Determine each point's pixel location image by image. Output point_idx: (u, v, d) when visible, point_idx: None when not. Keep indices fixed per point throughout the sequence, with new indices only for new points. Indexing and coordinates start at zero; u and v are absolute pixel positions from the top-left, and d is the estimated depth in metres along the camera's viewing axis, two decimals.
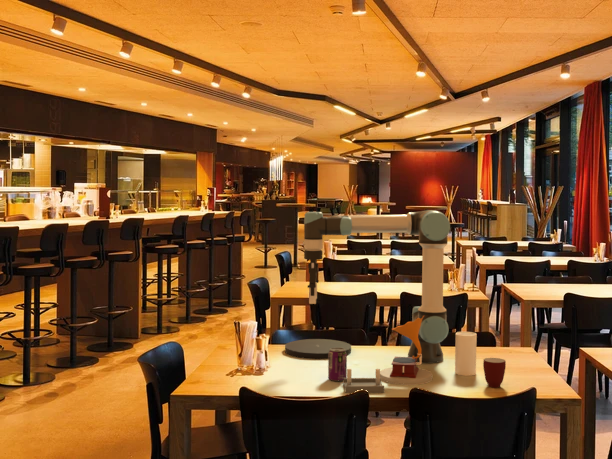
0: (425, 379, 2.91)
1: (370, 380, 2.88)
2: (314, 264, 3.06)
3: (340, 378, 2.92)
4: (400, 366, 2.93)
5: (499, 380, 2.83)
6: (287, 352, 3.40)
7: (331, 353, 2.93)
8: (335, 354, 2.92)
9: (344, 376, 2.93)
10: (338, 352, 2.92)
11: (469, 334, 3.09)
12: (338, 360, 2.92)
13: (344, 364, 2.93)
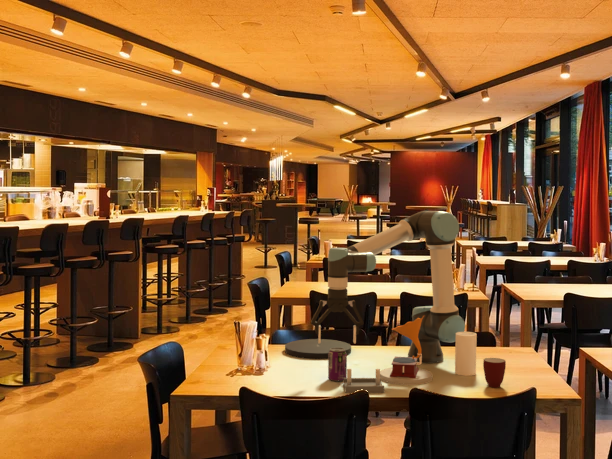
0: (425, 379, 2.91)
1: (370, 380, 2.88)
2: (320, 302, 2.93)
3: (340, 378, 2.92)
4: (400, 366, 2.93)
5: (499, 380, 2.83)
6: (287, 352, 3.40)
7: (331, 353, 2.93)
8: (335, 354, 2.92)
9: (344, 376, 2.93)
10: (338, 352, 2.92)
11: (469, 334, 3.09)
12: (338, 360, 2.92)
13: (344, 364, 2.93)
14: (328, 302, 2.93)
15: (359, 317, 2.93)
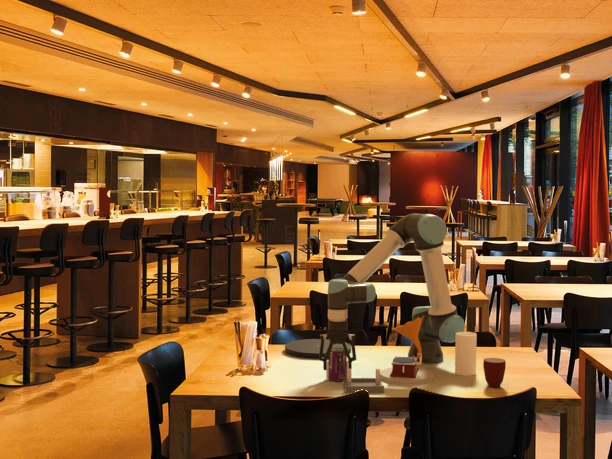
0: (425, 379, 2.91)
1: (370, 380, 2.88)
2: (320, 337, 2.94)
3: (340, 378, 2.92)
4: (400, 366, 2.93)
5: (499, 380, 2.83)
6: (287, 352, 3.40)
7: (331, 353, 2.93)
8: (335, 354, 2.92)
9: (344, 376, 2.93)
10: (338, 352, 2.92)
11: (469, 334, 3.09)
12: (338, 360, 2.92)
13: (344, 364, 2.93)
14: (328, 334, 2.94)
15: (354, 352, 2.94)
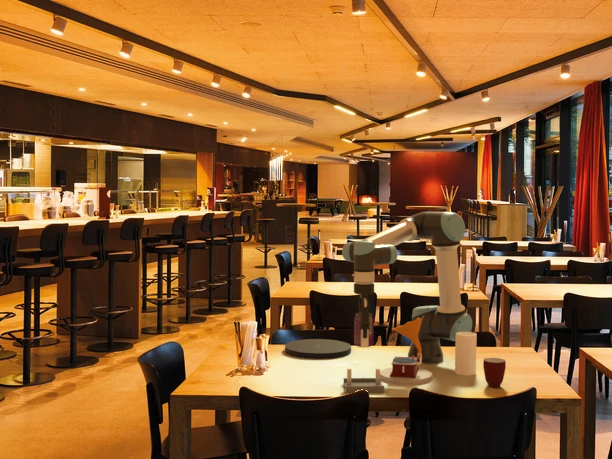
0: (425, 379, 2.91)
1: (370, 380, 2.88)
2: (367, 303, 2.75)
3: None
4: (400, 366, 2.93)
5: (499, 380, 2.83)
6: (287, 352, 3.40)
7: (370, 318, 2.79)
8: (372, 317, 2.81)
9: None
10: None
11: (469, 334, 3.09)
12: None
13: None
14: (367, 299, 2.78)
15: None
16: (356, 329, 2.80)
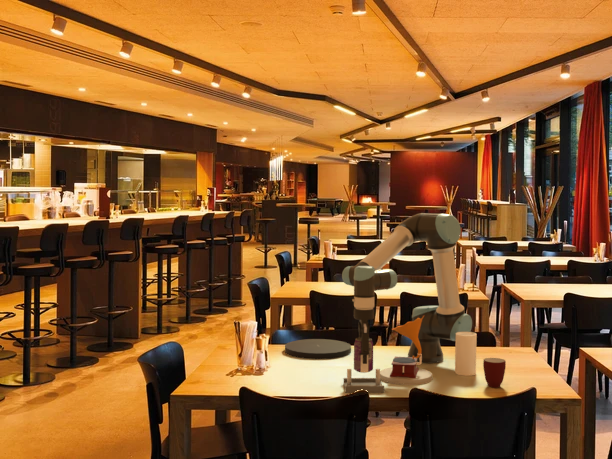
0: (425, 379, 2.91)
1: (370, 380, 2.88)
2: (367, 329, 2.75)
3: None
4: (400, 366, 2.93)
5: (499, 380, 2.83)
6: (287, 352, 3.40)
7: (369, 343, 2.80)
8: (372, 343, 2.81)
9: None
10: (371, 340, 2.83)
11: (469, 334, 3.09)
12: None
13: None
14: (367, 325, 2.78)
15: None
16: (356, 354, 2.81)
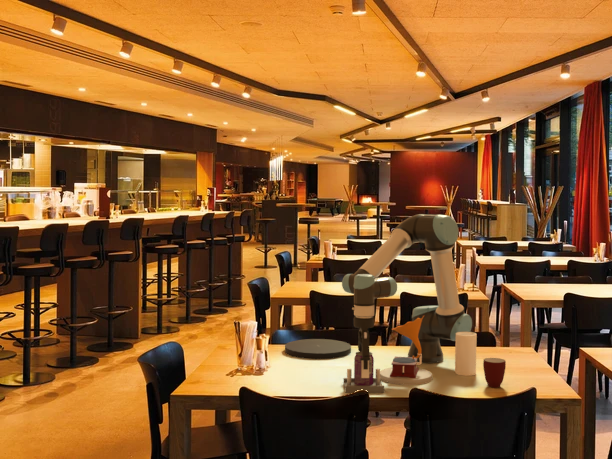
0: (425, 379, 2.91)
1: None
2: (367, 334, 2.75)
3: None
4: (400, 366, 2.93)
5: (499, 380, 2.83)
6: (287, 352, 3.40)
7: (370, 357, 2.80)
8: (372, 357, 2.82)
9: None
10: None
11: (469, 334, 3.09)
12: None
13: None
14: (367, 332, 2.79)
15: None
16: (356, 369, 2.81)
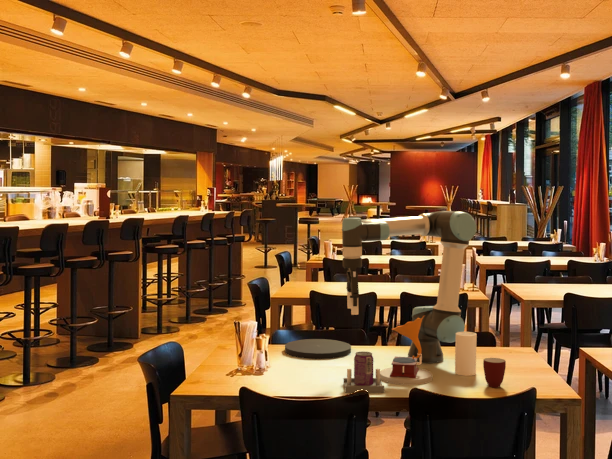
0: (425, 379, 2.91)
1: None
2: (356, 273, 2.90)
3: None
4: (400, 366, 2.93)
5: (499, 380, 2.83)
6: (287, 352, 3.40)
7: (370, 357, 2.80)
8: (372, 357, 2.82)
9: None
10: (371, 354, 2.83)
11: (469, 334, 3.09)
12: None
13: None
14: (356, 272, 2.94)
15: None
16: (356, 369, 2.81)
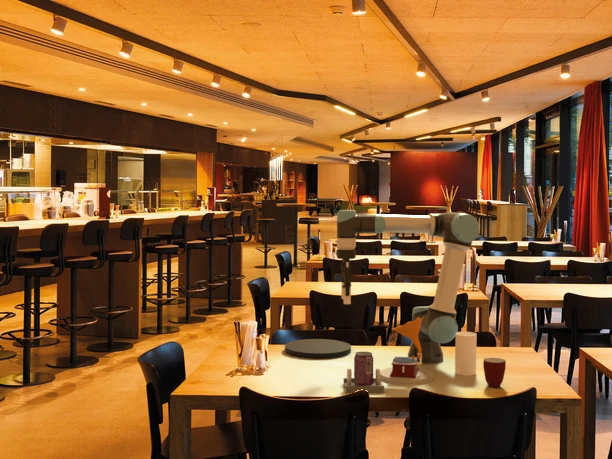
0: (425, 379, 2.91)
1: None
2: (349, 263, 2.98)
3: None
4: (400, 366, 2.93)
5: (499, 380, 2.83)
6: (287, 352, 3.40)
7: (370, 357, 2.80)
8: (372, 357, 2.82)
9: None
10: (371, 354, 2.83)
11: (469, 334, 3.09)
12: None
13: None
14: None
15: None
16: (356, 369, 2.81)
